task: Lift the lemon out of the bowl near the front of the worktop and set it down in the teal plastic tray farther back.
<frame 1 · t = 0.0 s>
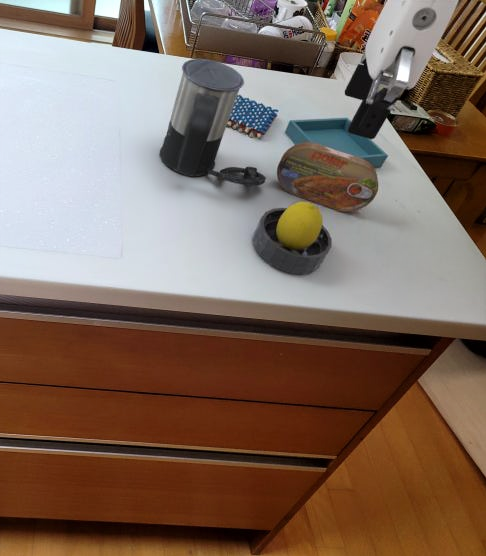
hand: (357, 115, 67), 19 cm above the table, tool pointing down, fingers open, 9 cm apart
tray: (332, 149, 99), on the table
bowl: (286, 250, 77), on the table
milk frother: (208, 171, 88), on the table
tin: (314, 198, 88), on the table
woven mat: (241, 119, 101), on the table
lemon: (286, 249, 77), resting on bowl
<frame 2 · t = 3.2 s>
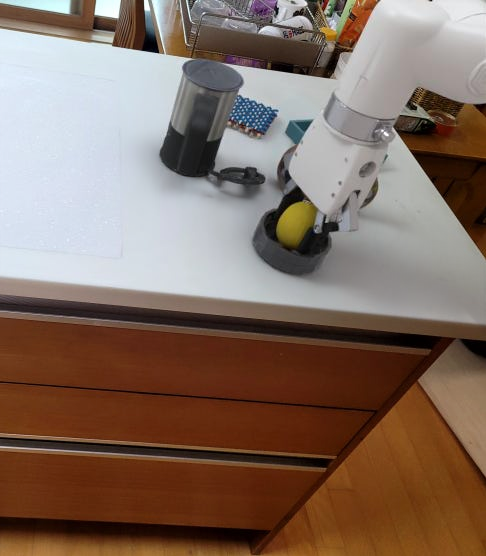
hand: (295, 232, 75), 3 cm above the table, tool pointing down, fingers closed on lemon, 5 cm apart
lemon: (286, 248, 77), resting on bowl, touching gripper
everything else where it was.
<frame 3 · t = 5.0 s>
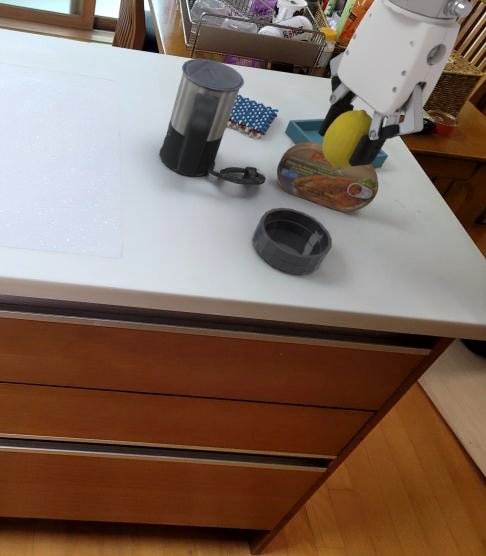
hand: (344, 147, 67), 16 cm above the table, tool pointing down, fingers closed on lemon, 5 cm apart
lemon: (333, 168, 69), point 13 cm above the table, touching gripper
everything else where it was.
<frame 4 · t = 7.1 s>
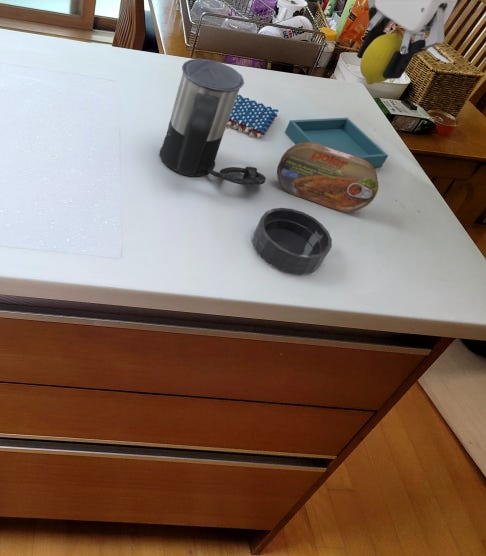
hand: (378, 66, 84), 17 cm above the table, tool pointing down, fingers closed on lemon, 5 cm apart
lemon: (368, 85, 86), point 14 cm above the table, touching gripper
everything else where it was.
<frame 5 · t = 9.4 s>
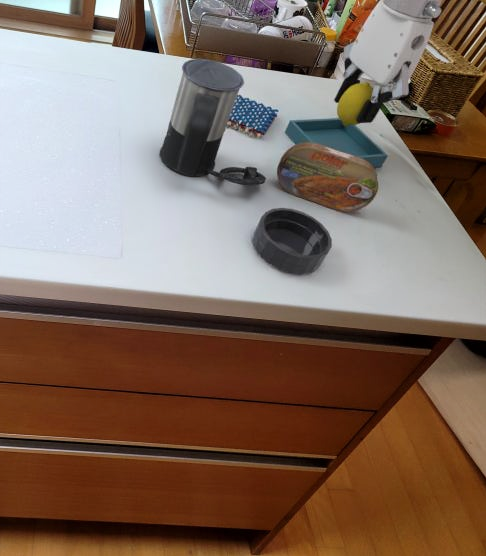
hand: (352, 110, 93), 8 cm above the table, tool pointing down, fingers closed on lemon, 5 cm apart
lemon: (344, 126, 95), point 5 cm above the table, touching gripper
everything else where it was.
when the fingers open (3 cm above the table, at t = 11.1 s): lemon stays where it is, resting on tray.
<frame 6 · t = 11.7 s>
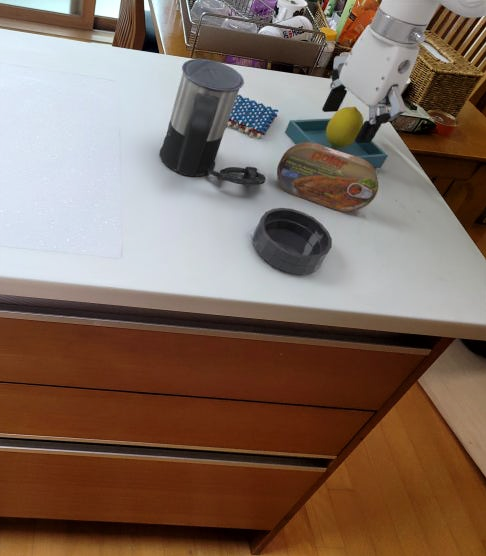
hand: (345, 126, 95), 5 cm above the table, tool pointing down, fingers open, 9 cm apart
lemon: (333, 148, 99), resting on tray
everything else where it was.
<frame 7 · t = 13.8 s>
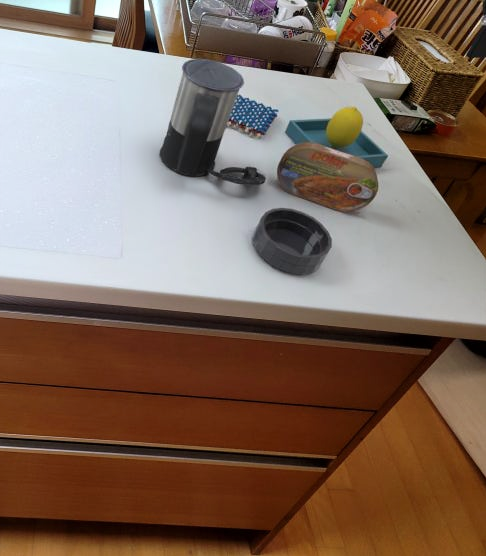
nothing on the table moved.
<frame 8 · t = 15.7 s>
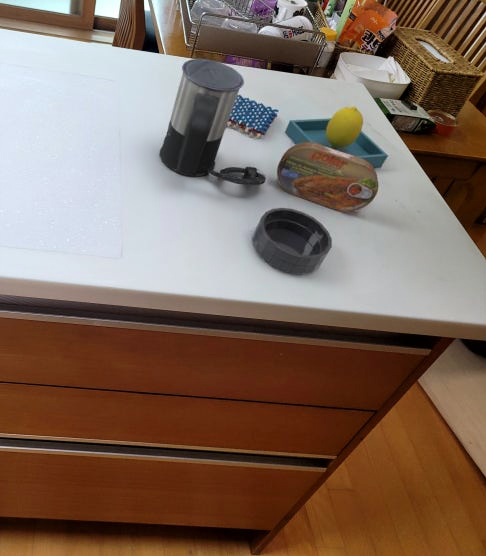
nothing on the table moved.
at the end: lemon inside the target area in the tray (0.1 cm from its centre), point 0.3 cm above the tray's base; lemon touching tray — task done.
